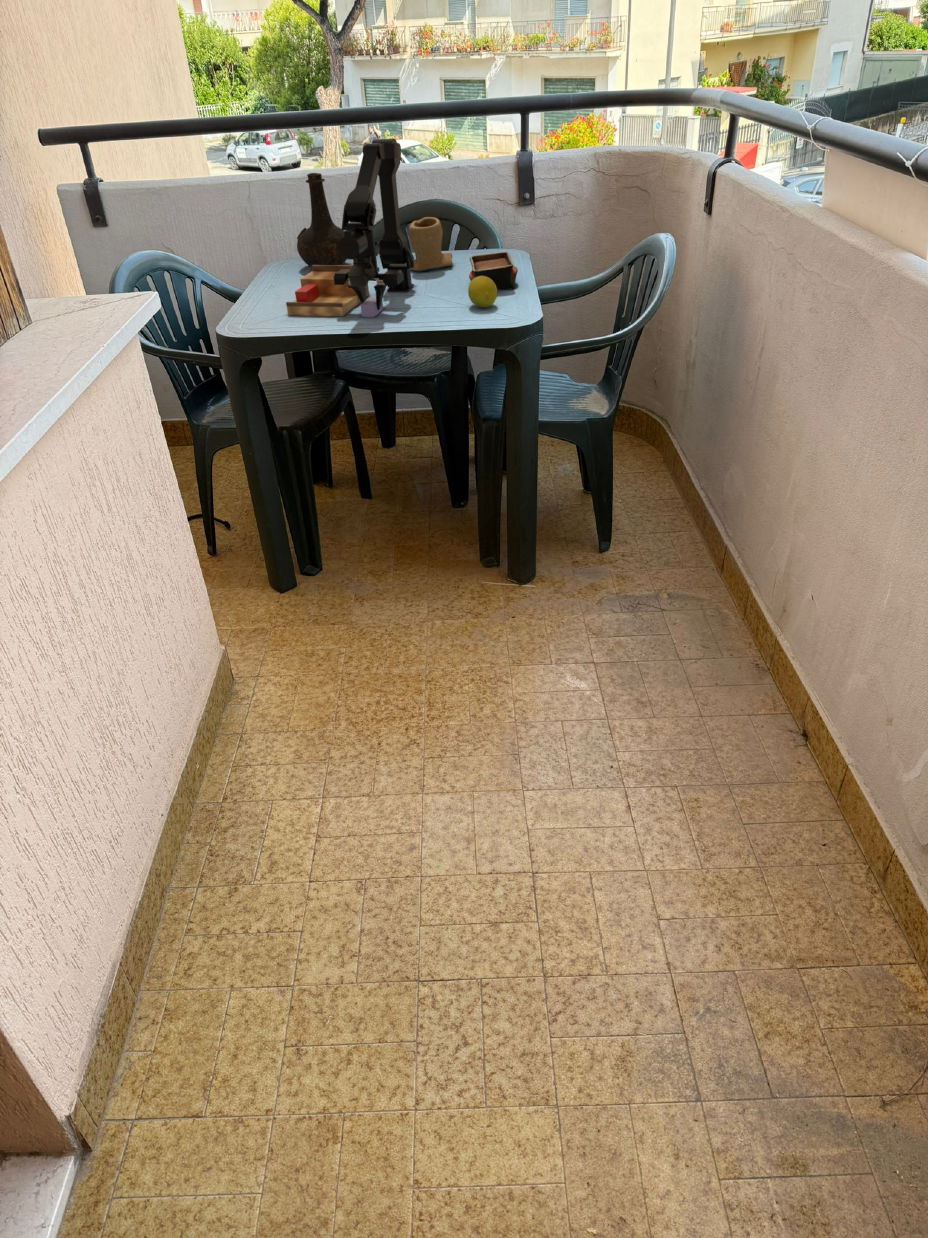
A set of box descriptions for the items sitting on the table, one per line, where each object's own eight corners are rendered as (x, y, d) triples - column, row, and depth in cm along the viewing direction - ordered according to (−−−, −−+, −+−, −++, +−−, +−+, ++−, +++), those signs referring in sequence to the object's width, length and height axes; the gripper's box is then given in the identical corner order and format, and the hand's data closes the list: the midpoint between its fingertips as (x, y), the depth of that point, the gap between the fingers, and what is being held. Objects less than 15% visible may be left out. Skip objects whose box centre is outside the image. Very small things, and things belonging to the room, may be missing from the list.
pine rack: (369, 295, 249) (365, 264, 244) (343, 316, 234) (338, 284, 229) (317, 294, 254) (312, 264, 249) (288, 315, 238) (282, 283, 233)
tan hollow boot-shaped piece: (414, 276, 264) (409, 224, 255) (406, 267, 273) (401, 217, 264) (460, 269, 266) (457, 218, 257) (451, 261, 276) (447, 211, 267)
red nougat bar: (319, 296, 243) (317, 284, 241) (308, 304, 237) (306, 291, 235) (307, 296, 244) (305, 283, 242) (296, 303, 238) (294, 291, 236)
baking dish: (468, 300, 245) (468, 266, 238) (469, 274, 258) (469, 241, 250) (517, 301, 245) (519, 267, 238) (516, 275, 257) (517, 242, 250)
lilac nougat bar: (383, 308, 237) (381, 296, 235) (373, 317, 231) (372, 304, 229) (371, 308, 238) (370, 296, 236) (361, 316, 232) (360, 304, 230)
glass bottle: (310, 260, 289) (295, 169, 273) (359, 258, 286) (348, 166, 270) (293, 273, 275) (276, 179, 259) (345, 272, 272) (331, 176, 256)
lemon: (500, 310, 229) (499, 279, 224) (472, 313, 228) (470, 282, 224) (493, 299, 238) (492, 269, 233) (466, 302, 237) (464, 272, 232)
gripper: (320, 257, 221) (330, 317, 230) (387, 257, 216) (393, 318, 225) (337, 246, 229) (345, 305, 239) (401, 246, 225) (407, 306, 234)
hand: (372, 309), depth 234 cm, fingers closed on lilac nougat bar, 3 cm apart
